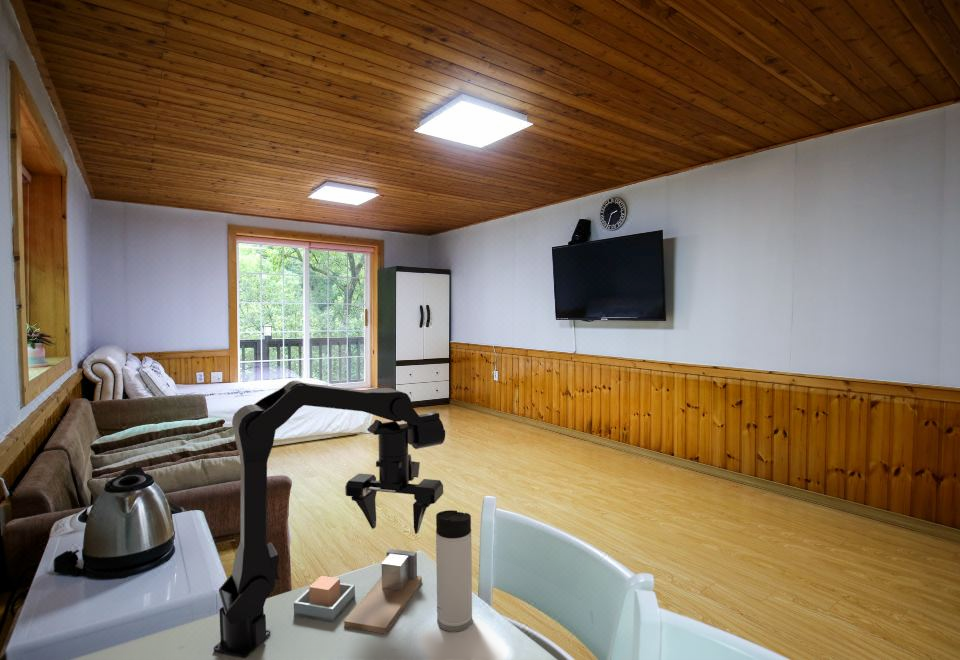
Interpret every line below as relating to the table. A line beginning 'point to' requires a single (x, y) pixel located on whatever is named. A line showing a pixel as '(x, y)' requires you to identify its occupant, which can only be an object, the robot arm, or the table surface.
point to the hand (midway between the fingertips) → (395, 530)
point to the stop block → (325, 591)
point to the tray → (324, 612)
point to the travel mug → (454, 570)
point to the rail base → (384, 601)
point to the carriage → (395, 572)
